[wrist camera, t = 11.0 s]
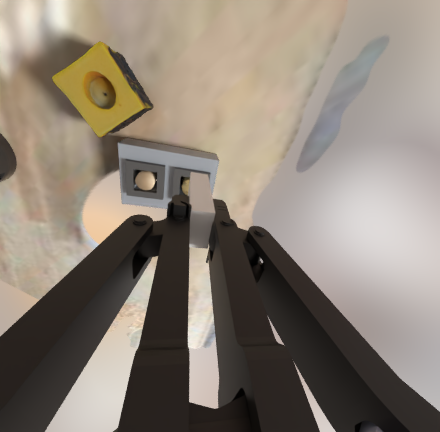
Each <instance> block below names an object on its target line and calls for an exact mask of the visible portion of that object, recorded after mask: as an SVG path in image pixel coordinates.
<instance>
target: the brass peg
mask: <svg viewBox="0 0 440 432" xmlns="http://www.w3.org/2000/svg"><path fill="white" fill-rule="evenodd" d="M189 182H190V177H183V182H182V191H183V192H184V194H186V195H188V190H189Z"/></svg>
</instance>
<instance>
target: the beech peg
mask: <svg viewBox="0 0 440 432" xmlns="http://www.w3.org/2000/svg"><path fill="white" fill-rule="evenodd" d="M156 179H157V172H150V171H144V170H141V171H140V172H139V174H138V175H137V176H136V179H135V182H136V184H137V186H138V187H139V188H141V189H143V190H150V189H152V188H153V187H154V184H155V182H156Z"/></svg>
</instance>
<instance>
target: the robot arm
mask: <svg viewBox="0 0 440 432" xmlns="http://www.w3.org/2000/svg"><path fill="white" fill-rule="evenodd" d="M15 169H16V157H15V154H14V152H13V150H12V148H11V146H10V144H9V143H8V142H7V140H6V139H5V138H4V137H3V136H2V135H1V134H0V182H1V181H4V180H6V179H8V178H9V177H11V176H12V175H13V173H14V172H15ZM208 244H209V251H208V256H207V260H206V263H208V260H209V270H210V281H211V292H212V303H213V313H214V324H215V335H216V345H217V356H218V368H219V390H218V407H219V408H217V409H213V408H209V407H205V406H201V405H197V404H194V403H190V402H189V348H188V291H189V247H196V248H208ZM155 256H158V260H157V265H156V270H155V274H154V279H153V284H152V288H151V293H150V298H149V302H148V307H147V312H146V316H145V321H144V325H143V330H142V335H141V339H140V344H139V347H138V349H137V351H136V353H135V356H134V360H133V364H132V368H131V372H130V377H129V381H128V386H127V391H126V395H125V400H124V404H123V408H122V412H121V417H120V421H119V426H118V428H117V429H116V430H115V431H113V432H320V431H319V428H318V425H317V423H316V420H315V418H314V415H313V412H312V410H311V407H310V404H309V402H308V399H307V396H306V394H305V391H304V388H303V386H302V383H301V380H300V378H299V375H298V372H297V370H296V367H295V365H294V363H295V364H296V366H297V368H298V369H299V371H300V373H301V375H302V377H303V378H304V380H305V382H306V384H307V385H308V387H309V389H310V391H311V392H312V394H313V396H314V398H315V399H316V401H317V403H318V405H319V406H320V408H321V409H322V411H323V413H324V414H325V416H326V417H327V419H328V421H329V422H330V424H331V425H332V427H333V428H334V429H335V431H336V432H440V412H439V411H438V410H437V409H436V408H435V407H433V406H432V405H431V404H430V403H428V402H427V401H426V400H425V399H424V398H423V397H421V396H420V395H419V394H418V393H417V392H415V391H414V390H413V389H412V388H411V387H409V386H408V385H407V384H406V383H405V382H403V381H402V380H401V379H400V378H399V377H398V376H397V375H396V374H395V373H394V371H393V370H392V369H391V368H390V367H389V366H388V365H387V364H386V362H385V361H384V360H383V359H382V358H381V357H380V356H379V355H378V353H377V352H376V351H375V350H374V349H373V348H372V347H371V346H370V345H369V344H368V342H367V341H366V340H365V339H364V338H363V337H362V336H361V335H360V333H359V332H358V331H357V330H356V329H355V328H354V327H353V326H352V325H351V323H350V322H349V321H348V320H347V319H346V318H345V317H344V316H343V315H342V313H341V312H340V311H339V310H338V309H337V308H336V307H335V306H334V305H333V303H331V301H330V300H329V299H328V298H327V297H326V296H325V295H324V293H323V292H322V291H321V290H320V289H319V288H318V287H317V286H316V285H315V283H314V282H313V281H312V280H311V279H310V278H309V277H308V276H307V275H306V274H305V272H304V271H303V270H302V269H301V268H300V267H299V266H298V265H297V263H296V262H295V261H294V260H293V259H292V258H291V257H290V256H289V254H287V252H286V251H285V250H284V249H283V248H282V247H281V246H280V244H279V243H278V242H277V241H276V240H275V239H274V238H273V237H272V236H271V234H270V233H269V232H268V231H266V230H265V229H264V228H262V227H259V226H252V227H250V228H249V230H248V231H246V230H243V229H240V228H238V227H237V225H236V223H235V221H233V220H232V219H230V216H229V212H228V209H227V206H226V203H225V202H224V201H223V200H217V199H213V198H212V193H211V188H210V182H209V177H208V175H207V174H201V173H195V172H191V175H190V182H189V190H188V196H183V195H174V196H173V197H172V200H171V201H170V202H169V203H168V208H167V218H166V219H164V220H161V221H154V222H153V220H152V218H150V217H149V216H146V215H134V216H131V217H129V218H128V219H126V221H124V222H123V223H122V224H121V225H120V226H119V227H118V228H117V229H116V230H115V231H114V232H112V233H111V234H110V236H108V237H107V238H106V239H105V240H104V241H103V242H102V243H101V244H100V245H98V246H97V247H96V248H95V249H94V250H93V251H92V252H91V253H90V254H89V255H88V256H87V257H86V258H84V259H83V260H82V261H81V262H80V263H79V264H78V265H77V266H76V267H75V268H74V269H73V270H72V271H70V272H69V273H68V274H67V275H66V276H65V277H64V278H63V279H62V280H61V281H60V282H59V283H58V284H56V285H55V286H54V287H53V288H52V289H51V290H50V291H49V292H48V293H47V294H46V295H45V296H44V297H42V298H41V299H40V300H39V301H38V302H37V303H36V304H35V305H34V306H33V307H32V308H31V309H30V310H28V312H26V313H25V314H24V315H23V316H22V317H21V318H20V319H19V320H18V321H17V322H16V323H14V324H13V325H12V326H11V327H10V328H9V329H8V330H7V331H6V332H5V333H4V334H3V335H2V336H0V432H45V430H46V429H47V427H48V425H49V424H50V422H51V421H52V419H53V417H54V416H55V414H56V412H57V411H58V409H59V408H60V406H61V404H62V403H63V401H64V400H65V398H66V396H67V395H68V393H69V391H70V390H71V388H72V386H73V385H74V383H75V382H76V380H77V379H78V377H79V375H80V374H81V372H82V371H83V369H84V367H85V366H86V364H87V363H88V361H89V359H90V358H91V356H92V354H93V353H94V351H95V350H96V348H97V346H98V345H99V343H100V342H101V340H102V338H103V337H104V335H105V334H106V332H107V330H108V329H109V327H110V326H111V324H112V322H113V321H114V319H115V317H116V316H117V314H118V313H119V311H120V309H121V308H122V306H123V305H124V303H125V301H126V300H127V298H128V297H129V295H130V293H131V292H132V290H133V288H134V287H135V285H136V284H137V282H138V280H139V279H140V277H141V276H142V274H143V272H144V271H145V269H146V268H147V266H148V264H149V263H150V261H151V259H152V257H155ZM260 258H261V259H262V260H263V263H261V261H260ZM267 315H268V316H267ZM268 317H269V319H270V321H271V322H272V324H273V326H274V328H275V329H276V331H277V333H278V335H279V336H280V338H281V340H282V342H283V343H284V345H285V346H284V345H282V344H279V343H278V342H277V341H276V339H275V337H274V334H273V331H272V328H271V325H270V322H269V320H268ZM293 361H294V362H293Z"/></svg>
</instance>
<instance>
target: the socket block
mask: <svg viewBox="0 0 440 432" xmlns="http://www.w3.org/2000/svg"><path fill="white" fill-rule="evenodd" d="M118 154H119V169H120V183H121V199H122V204H129V205H138V206H146V207H155V208H164V209H167V208H168V203H169V202H170V201H171V200H172V197H173V196H174V195H183V196H188V195H186V194H184V192H183V191H182V185H181V184H180V183H181V176H183V177H190V175H191V172H195V173H201V174H207V175H208V177H209V182H210V188H211V193H212V194H213V189H214V184H215V179H216V174H217V169H218V164H219V159H218V157H217V154H213V153H208V152H202V151H197V150H192V149H186V148H181V147H175V146H170V145H164V144H159V143H153V142H148V141H142V140H137V139H131V138H125V139H123V140H122V141H120V142H118ZM141 170H144V171H150V172H157V181H156V182H155V184H154V187H153V188H152V189H150V190H143V189H141V188H139V187H138V186H137V184H136V182H135V179H136V176H137V175H138V174H139V172H140V171H141Z"/></svg>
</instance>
